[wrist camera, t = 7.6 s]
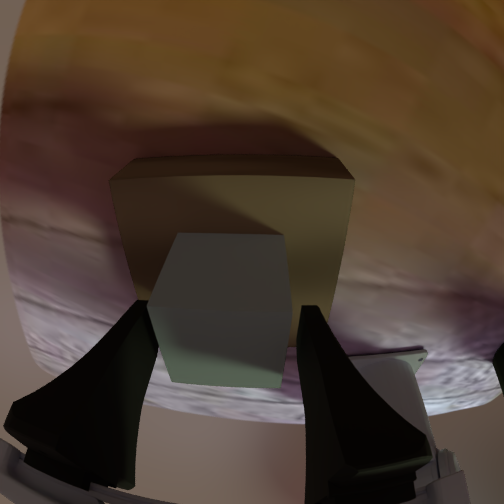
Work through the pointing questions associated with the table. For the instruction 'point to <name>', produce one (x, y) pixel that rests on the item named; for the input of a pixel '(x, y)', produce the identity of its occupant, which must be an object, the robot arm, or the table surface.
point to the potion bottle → (499, 366)
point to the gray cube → (224, 309)
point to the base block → (238, 214)
